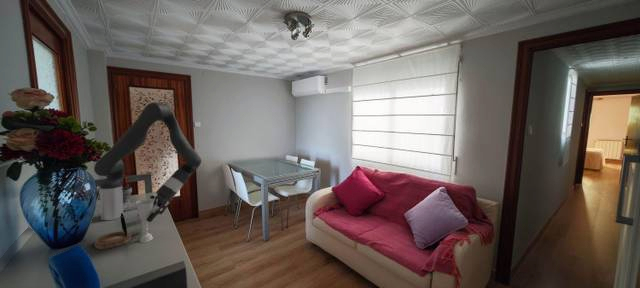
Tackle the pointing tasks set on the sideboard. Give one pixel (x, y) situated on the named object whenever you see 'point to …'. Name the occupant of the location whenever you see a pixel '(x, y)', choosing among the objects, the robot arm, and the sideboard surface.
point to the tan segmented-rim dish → (112, 240)
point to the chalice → (145, 215)
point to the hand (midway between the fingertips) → (143, 218)
